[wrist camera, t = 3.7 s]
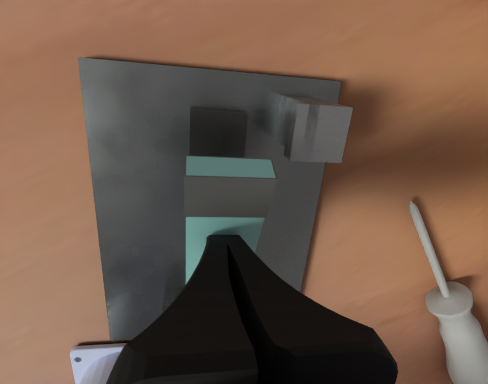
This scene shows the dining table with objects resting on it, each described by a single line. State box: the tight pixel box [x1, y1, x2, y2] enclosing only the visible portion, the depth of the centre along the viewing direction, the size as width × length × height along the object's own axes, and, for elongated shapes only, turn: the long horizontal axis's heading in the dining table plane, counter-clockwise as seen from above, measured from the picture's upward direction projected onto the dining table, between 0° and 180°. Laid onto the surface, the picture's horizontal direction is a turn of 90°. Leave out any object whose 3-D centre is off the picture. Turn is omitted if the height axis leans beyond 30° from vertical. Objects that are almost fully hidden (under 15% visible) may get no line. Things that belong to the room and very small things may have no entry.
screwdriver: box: [409, 201, 488, 384], centre depth 25 cm, size 5×25×4 cm, turn 30°
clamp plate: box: [78, 57, 353, 340], centre depth 18 cm, size 19×14×6 cm
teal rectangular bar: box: [184, 155, 277, 284], centre depth 15 cm, size 15×3×2 cm, turn 175°
